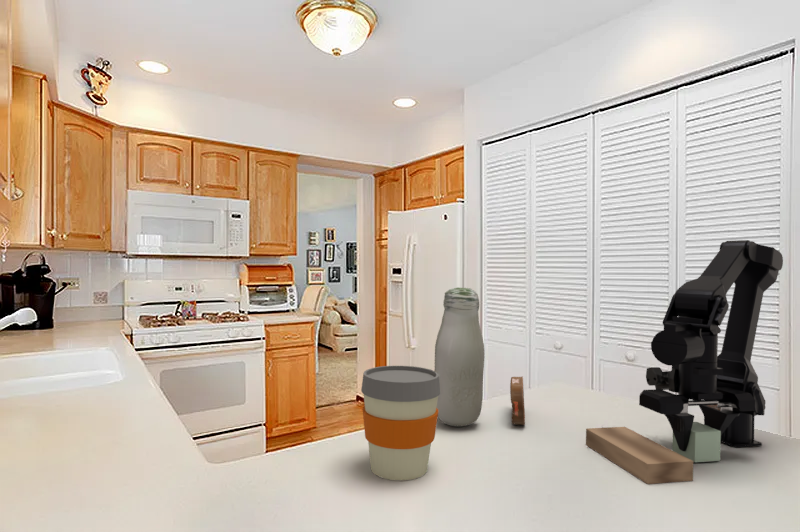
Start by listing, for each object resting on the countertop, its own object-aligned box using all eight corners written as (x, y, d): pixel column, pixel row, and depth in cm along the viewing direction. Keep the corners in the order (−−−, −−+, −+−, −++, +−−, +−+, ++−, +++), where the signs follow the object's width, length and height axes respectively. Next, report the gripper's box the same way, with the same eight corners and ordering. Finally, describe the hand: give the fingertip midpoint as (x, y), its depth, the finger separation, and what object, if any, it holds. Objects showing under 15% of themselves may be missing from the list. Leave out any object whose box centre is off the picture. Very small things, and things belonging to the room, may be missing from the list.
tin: (525, 431, 94) (525, 388, 94) (508, 429, 95) (509, 387, 95) (524, 409, 109) (525, 373, 109) (510, 408, 110) (511, 372, 110)
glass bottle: (442, 434, 91) (446, 288, 91) (427, 417, 101) (430, 286, 101) (490, 431, 93) (493, 289, 93) (470, 415, 103) (473, 286, 103)
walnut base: (624, 442, 89) (624, 426, 89) (692, 480, 73) (693, 461, 73) (585, 444, 87) (586, 428, 87) (647, 484, 72) (647, 464, 72)
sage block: (696, 449, 86) (696, 421, 86) (720, 460, 81) (720, 431, 81) (672, 451, 85) (672, 422, 85) (694, 462, 80) (695, 432, 80)
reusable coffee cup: (425, 492, 67) (427, 386, 67) (345, 477, 72) (348, 377, 72) (447, 459, 79) (449, 369, 79) (377, 448, 83) (380, 362, 84)
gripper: (705, 351, 92) (703, 431, 92) (619, 352, 89) (617, 435, 89) (758, 362, 82) (756, 453, 81) (663, 364, 78) (661, 459, 78)
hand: (695, 449), depth 83 cm, fingers closed on sage block, 5 cm apart
